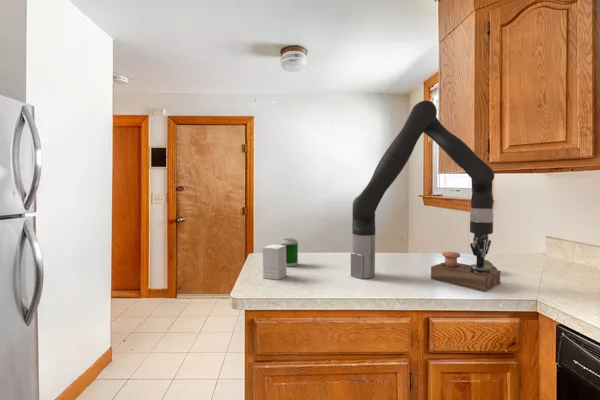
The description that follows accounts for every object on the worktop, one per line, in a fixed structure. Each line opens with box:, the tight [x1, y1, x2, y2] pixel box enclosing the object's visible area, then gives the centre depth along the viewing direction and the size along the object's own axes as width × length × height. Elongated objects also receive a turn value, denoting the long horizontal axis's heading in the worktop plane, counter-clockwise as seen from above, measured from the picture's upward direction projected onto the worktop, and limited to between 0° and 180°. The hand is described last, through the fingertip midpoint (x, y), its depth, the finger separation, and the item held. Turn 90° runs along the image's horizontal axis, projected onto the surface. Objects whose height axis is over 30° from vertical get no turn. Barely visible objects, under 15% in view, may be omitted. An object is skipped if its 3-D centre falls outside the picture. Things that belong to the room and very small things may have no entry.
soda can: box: [281, 238, 299, 268], centre depth 151 cm, size 8×8×12 cm
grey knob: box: [469, 263, 490, 274], centre depth 121 cm, size 6×6×6 cm
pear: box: [484, 259, 498, 270], centre depth 137 cm, size 6×5×10 cm
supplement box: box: [262, 243, 288, 281], centre depth 132 cm, size 7×7×13 cm
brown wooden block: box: [430, 261, 502, 293], centre depth 126 cm, size 14×20×5 cm
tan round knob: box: [441, 251, 461, 268], centre depth 130 cm, size 6×6×6 cm
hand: (480, 266), depth 121 cm, fingers closed
